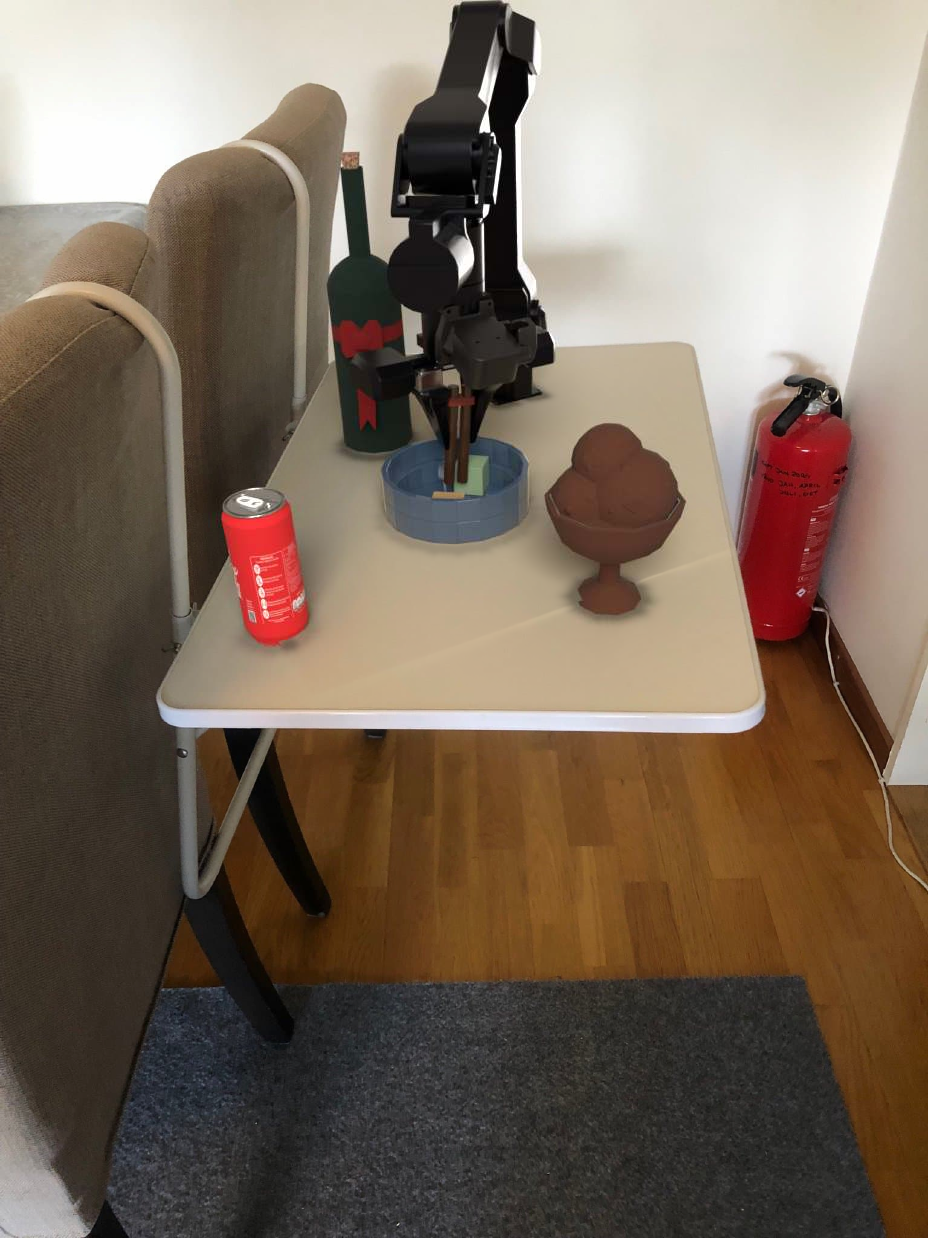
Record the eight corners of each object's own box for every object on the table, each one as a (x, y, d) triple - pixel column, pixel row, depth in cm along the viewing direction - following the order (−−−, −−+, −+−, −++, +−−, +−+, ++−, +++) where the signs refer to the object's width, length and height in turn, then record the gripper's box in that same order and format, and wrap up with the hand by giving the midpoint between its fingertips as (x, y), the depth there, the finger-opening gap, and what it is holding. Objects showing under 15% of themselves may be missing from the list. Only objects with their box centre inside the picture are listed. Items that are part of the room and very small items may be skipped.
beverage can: (281, 656, 73) (256, 524, 66) (234, 637, 75) (204, 508, 68) (323, 623, 77) (303, 494, 70) (276, 606, 79) (252, 480, 72)
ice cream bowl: (524, 615, 76) (523, 450, 68) (574, 552, 84) (580, 396, 76) (646, 648, 72) (663, 475, 63) (688, 577, 80) (708, 416, 71)
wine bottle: (336, 467, 101) (296, 166, 83) (349, 429, 109) (316, 147, 91) (407, 466, 100) (383, 163, 83) (415, 427, 108) (395, 144, 91)
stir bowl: (363, 501, 94) (358, 456, 91) (484, 467, 99) (483, 424, 96) (424, 564, 84) (421, 516, 81) (556, 523, 89) (557, 476, 86)
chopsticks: (441, 480, 91) (445, 384, 86) (465, 477, 92) (471, 381, 86) (445, 486, 90) (449, 388, 85) (469, 483, 91) (475, 386, 86)
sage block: (461, 480, 96) (460, 454, 94) (489, 482, 95) (488, 456, 93) (454, 493, 93) (452, 466, 91) (482, 495, 92) (482, 468, 91)
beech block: (435, 518, 89) (433, 491, 87) (466, 520, 89) (464, 492, 87) (429, 534, 87) (428, 506, 85) (461, 535, 86) (459, 507, 85)
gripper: (393, 320, 71) (406, 501, 80) (593, 283, 78) (585, 453, 87) (339, 288, 79) (356, 455, 88) (524, 256, 86) (523, 415, 95)
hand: (457, 445), depth 89 cm, fingers closed on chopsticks, 2 cm apart
